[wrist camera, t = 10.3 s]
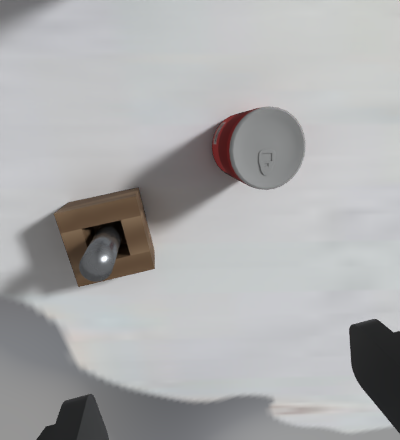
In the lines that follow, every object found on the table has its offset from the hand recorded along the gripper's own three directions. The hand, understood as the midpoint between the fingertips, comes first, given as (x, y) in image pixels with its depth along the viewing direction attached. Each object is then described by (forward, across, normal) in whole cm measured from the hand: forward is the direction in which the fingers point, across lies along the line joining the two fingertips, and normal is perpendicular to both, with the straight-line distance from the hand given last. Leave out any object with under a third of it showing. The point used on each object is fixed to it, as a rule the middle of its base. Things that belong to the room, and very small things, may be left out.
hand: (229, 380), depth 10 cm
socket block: (+33, +8, +3) cm, 34 cm away
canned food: (+33, -10, -4) cm, 35 cm away
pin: (+32, +8, +3) cm, 33 cm away
